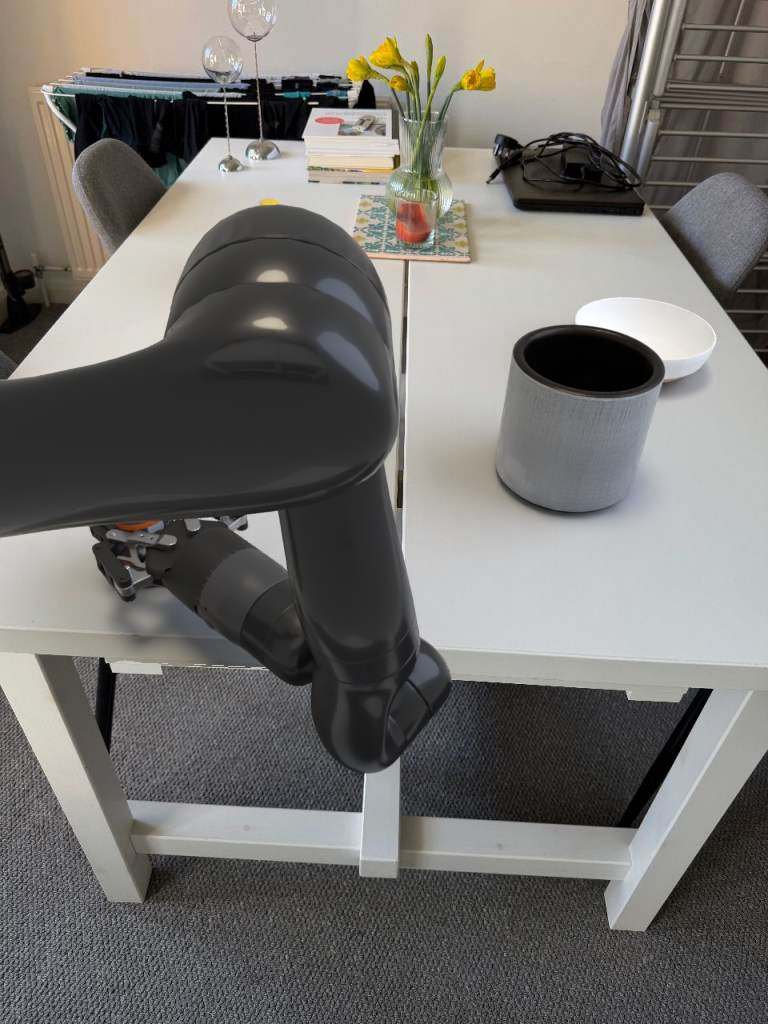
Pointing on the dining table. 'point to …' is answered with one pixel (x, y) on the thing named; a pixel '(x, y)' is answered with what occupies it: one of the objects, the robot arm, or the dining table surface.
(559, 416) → the planter
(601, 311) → the bowl
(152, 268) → the dining table surface
